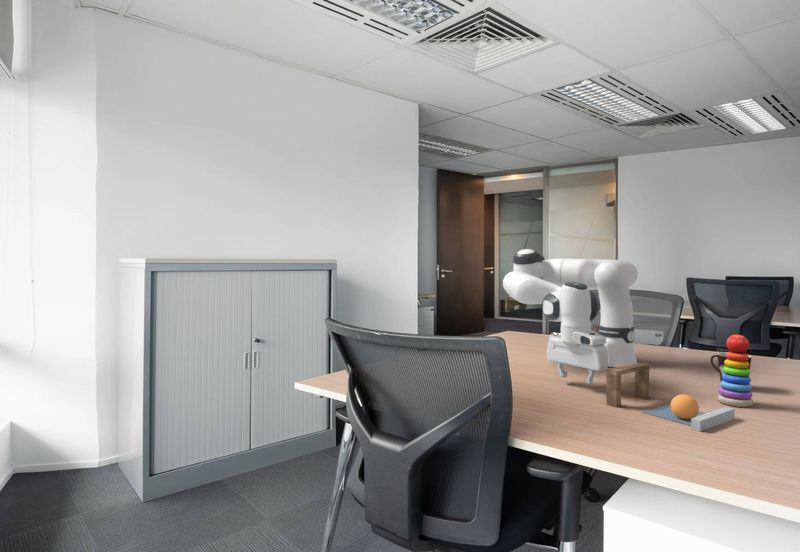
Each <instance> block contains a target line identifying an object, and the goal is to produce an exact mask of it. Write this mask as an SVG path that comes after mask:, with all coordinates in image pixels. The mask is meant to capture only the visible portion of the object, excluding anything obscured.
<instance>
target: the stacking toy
mask: <svg viewBox="0 0 800 552" xmlns="http://www.w3.org/2000/svg"><path fill="white" fill-rule="evenodd" d="M725 345H726V347H727V349H728V350H729V351H728V352H727V353H726V357H727V358H728V359H726V360H725V361H724V364H725V365H726V366H725V367H724V369H723V371H724V372H725V373H724V374H723V375H722V379H723V380H722V381H720V387H719V388H718V393H719V394H718V395H717V400H718V401H719V402H720V403H722V404H724V405H727V406H732V407H737V408H745V407H746V408H749V407H752V406H753V405H754V399H753V398H752V397H753V392H752V389H753V386H752V384H751V381H752V379H751V377H750V374H751V370H749V369H748V367H749V363H748V362H747V360H748V358H749V356H748V355H749V354H748V353H746V352H747V351H748V350H749V348H750V341H749V340H748V339H747V337H746V336H744V335H742V334H732V335H730V336H729V337H728V338H727V339H726V344H725Z"/></svg>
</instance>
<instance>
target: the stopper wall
mask: <svg viewBox="0 0 800 552" xmlns="http://www.w3.org/2000/svg"><path fill="white" fill-rule="evenodd" d="M735 412H736V411H735V408H733V407H728V406H724V407H721V408H717V409H715V410H713V411H712V410H711V411H709V412H707V413H706V412H705V413H706V414H703V415H700V416H697V417H694V418H691V426H690V430H693V431H695V432H696V431H697V432H702V431H705V430H709V429H710V428H713V427H717V426H718V425H722V424H725V423H727V422H729V421H732V419H733V420H735V418H736V417H735ZM724 422H725V423H724ZM721 423H722V424H721ZM716 425H717V426H716Z"/></svg>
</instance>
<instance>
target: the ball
mask: <svg viewBox="0 0 800 552" xmlns="http://www.w3.org/2000/svg"><path fill="white" fill-rule="evenodd" d="M670 405H671V410H672V412H673V413H674V414H675V415H676V416H677V417H678V418H681V419H685V420H689V419H691V418H694V417H695V416H696V415H697V414H698V412H700V407H699V403H698V401H697V400H696V399H695V398H694V397H692V396H690V395H689V394H682V393H681V394H678V395H675V397H673V398H672V399H671V401H670Z"/></svg>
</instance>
